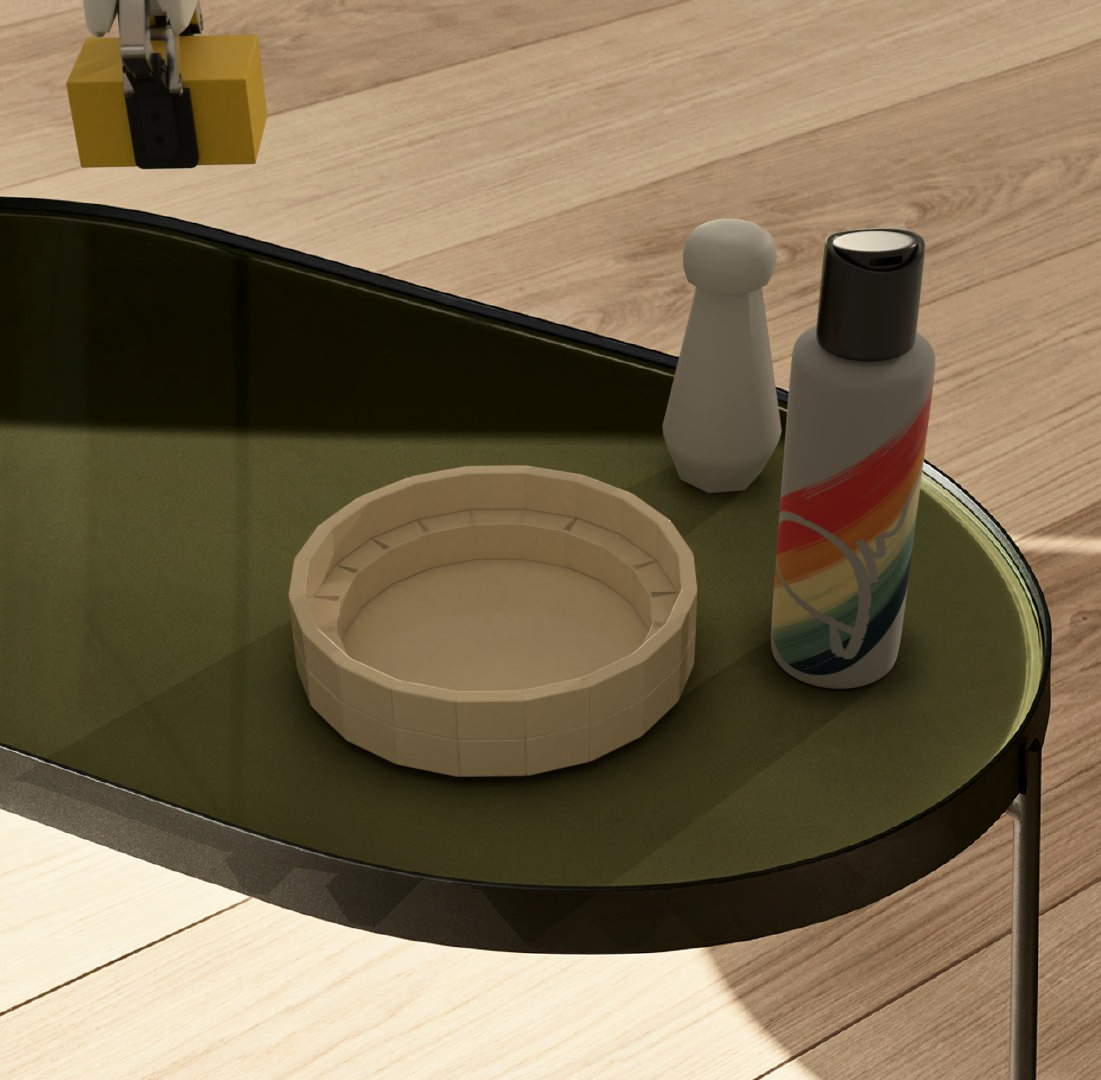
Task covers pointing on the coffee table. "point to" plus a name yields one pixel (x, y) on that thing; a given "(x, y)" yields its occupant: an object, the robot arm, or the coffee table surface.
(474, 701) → the bowl
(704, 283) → the salt shaker
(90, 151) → the sponge
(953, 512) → the coffee table surface
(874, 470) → the striped bottle
